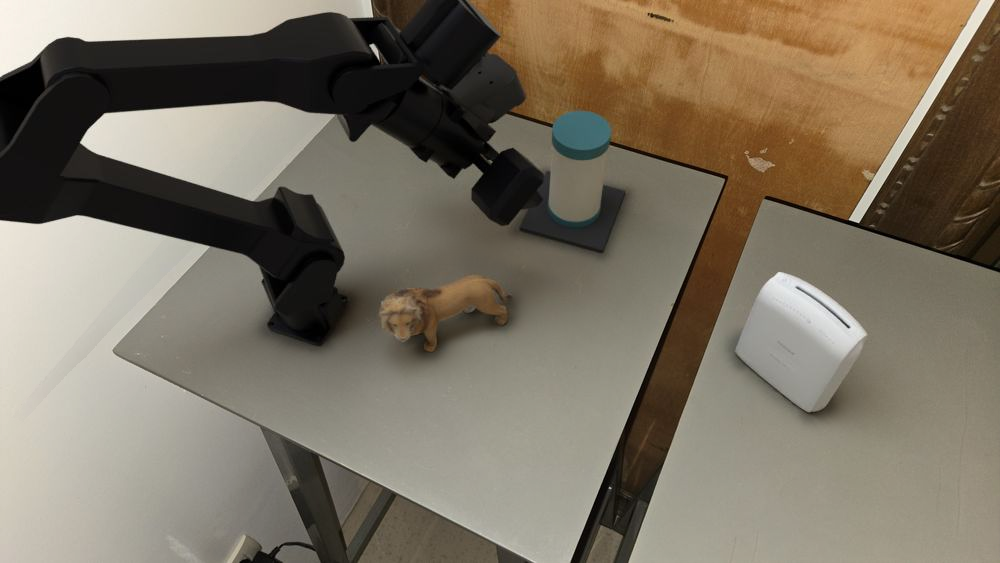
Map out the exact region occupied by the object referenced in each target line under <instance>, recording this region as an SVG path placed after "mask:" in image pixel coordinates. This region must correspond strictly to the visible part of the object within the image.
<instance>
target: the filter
mask: <svg viewBox="0 0 1000 563" xmlns="http://www.w3.org/2000/svg"><path fill="white" fill-rule="evenodd" d="M551 129H552V130H551V144H552V145H551V159H550V160H551V161H550V162H551V163H550V172H551V174H550V191H549V198H548V212H549V215H550V216H551V218H552V219H553V220H554V221H556V222H557V223H559V224H560V225H563V226H566V227H571V228H580V227H585V226H588V225H590V224H592V223H593V222H594V221H595V220H596V219H597V218H598V216H599V214H600V209H601V196H602V189H603V185H604V182H605V173H606V166H607V160H608V154H609V148H610V144H611V138H612V127H611V125H610V123H609V122H608V120H606V119H605V118H604V117H603V116H601V115H599V114H598V113H595V112H592V111H587V110H573V111H569V112H566V113H564V114H561V115H560V116H559V117H557V118H556V119H555V121H554V122H553V124H552V128H551Z"/></svg>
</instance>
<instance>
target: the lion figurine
mask: <svg viewBox="0 0 1000 563" xmlns="http://www.w3.org/2000/svg"><path fill="white" fill-rule="evenodd" d="M494 291H495V292H494ZM495 294H496V295H497V296H498V298H499V299H500V301H501V302H502V303H510V302H511V300H512V299H513V296H512V294H507V295H505V293H504V291H503V289H502V287H501V286H500V285H499V283H497V282H496V281H495V280H493V279H489V278H487V277H486V276H484V275H480V274H470V275H466V276H464V277H462V278H460V279H458V280H456V281H455V282H452V283H449V284H446V285H442V286H438V287H435V288H432V289H431V288H428V287H425V288H424V287H415V286H414V287H412V288H411V287H405V288H404V289H399V290H397V291H392V292H391V293H390V294H388V295H387V296H386V297H385V299H384V300H382V301H381V302H380V303H381V304H380V308H379V313H378V316H379V317H380V320H381V321H380V325H381V328H382V331H384V332H385V333H387V334H390V335H391V336H395V339H397V340H399V341H400V342H407V340H409V339H410V338H411V337H412V336H417V335H419V334H421V333H423V334H424V336H425V337H426V341H425V342H424V343H423V347H424V348H423V349H424V350H425V351H427V352H430V353H431V352H432V353H433V352H434V351H435V350H436V348H437V346H438V340H437V339H438V338H437V329H438V328H439V322H440V321H444V320H447V319H450V318H453V317H455V316H457V315H459V314H461V313H462V312H464V313H466V314H468V313H473V312H474V311H475V310H478V311H479V312H482V313H483V314H487V315H494V316H495V315H496V316H495V319H494V322H495V323H497V325H500V326H502V325H505V324H506V323H507V322H508V319H509V318H508V317H509V315H508V312H507V307H506V306H505V305H501V304H499V303H498V302H497V300H496V297H495Z"/></svg>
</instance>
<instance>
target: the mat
mask: <svg viewBox="0 0 1000 563" xmlns="http://www.w3.org/2000/svg"><path fill="white" fill-rule="evenodd" d="M550 174H551V170H546V171H545V173H544V182H543V183H542V185H541V186H540V187H539V188H538V190H537V191H538V192H539V194H540V195H541V196H542V198H543V200H542V202H541V203H540V204H539V205H538V206H537V207H534V208H529V209H527V211H526V212H525V215H524V217H523V219H522V221H521V222H520V225H519V228H518V229H519V232H523V233H527V234H531V235H534V236H538V237H541V238H545V239H548V240H552V241H556V242H559V243H564V244H566V245H567V244H568V245H571V246H575V247H578V248H581V249H584V250H585V249H586V250H589V251H592V252H596V253H600V254H603V253H604V250H605V247H606V245H607V242H608V239H609V237H610V234H611V231H612V229H613V227H614V223H615V222H616V219H617V216H618V213H619V211H620V208H621V205H622V203H623V200H624V198H625V195H626V190H624V189H621V188H618V187H617V188H616V187H612V186H609V185H604V184H603V189H602V196H601V209H600V214H599V216H598V218H597V219H596V220H595V221H594V222H593V223H592V224H590V225H588V226H585V227H580V228H571V227H566V226H563V225H560V224H559V223H557V222H556V221H554V220H553V219H552V218H551V216H550V215H549V212H548V198H549V191H550Z"/></svg>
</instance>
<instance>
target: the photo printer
mask: <svg viewBox="0 0 1000 563" xmlns="http://www.w3.org/2000/svg"><path fill="white" fill-rule="evenodd" d="M867 338H868V333H867V331H866V330H865V329H864V328H863V327H862V325H861V324H860V323H859V322H858V320H856V318H855V317H854V316H852V315H851V313H850V312H848V311H847V310H846V309H845V308H844V307H843V306H842V305H841V304H839V303H838V302H837V301H835V299H833V298H832V297H831V296H829V295H827V294H826V293H824V291H822V290H821V289H819V288H817V287H816V286H815V285H812V284H810V283H809V282H807V281H806V280H804V279H801V278H799V277H798V276H795V275H793V274H789V273H786V272H782V271H778V272H776V274H775V275H774V276H772V277H771V278H770V279H768V280H767V282H765V284H764V285H762V287H761V289H760V291H759V292H758V295H757V297H756V299H755V301H754V303H753V305H752V308H751V310H750V314H749V315H748V318H747V320H746V322H745V325H744V327H743V330H742V332H741V334H740V336H739V339H738V341H737V344H736V347H735V350H734V351H735V354H736V355H737V356H738V357H739V359H740V360H742V362H744V363H745V364H746V365H747V366H748V367H749V368H750V369H751V370H753V371H754V372H755V373H756V374H757V375H758V376H760V378H762V379H763V380H764V381H766V382H767V383H768V384H770V386H772V387H773V388H774V389H775V390H777V391H778V392H779V393H780V394H782V395H783V396H784V397H786V398H787V399H788V400H789V401H791V402H792V403H793V404H795V405H796V406H797V407H798V408H800V409H802V410H803V411H805V412H806V413H811V412H812V413H814V412H815V413H816V412H819V411H821V410H823V409H824V408H826V406H827V405H828V404H829V402H830V401H831V399H832V397H833V396H834V395H835V393H836V392H837V390H838V389H839V387H840V385H841V384H842V383H843V381H844V379H845V378H846V376H847V375H848V373H849V371H851V368H852V367H853V366H854V364H855V363H856V361H857V359H858V358H859V356H861V353H862V351H863V348H864V344H865V342H866V340H867Z"/></svg>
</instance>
